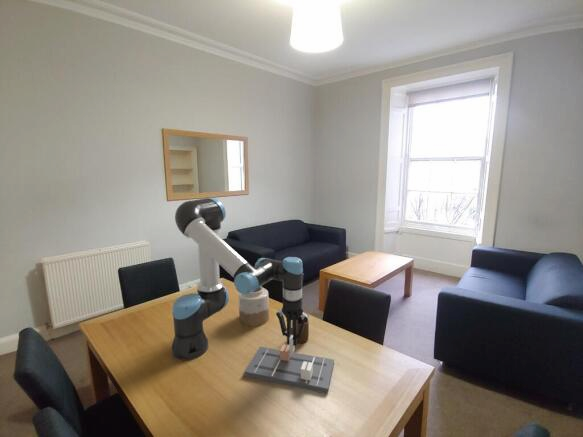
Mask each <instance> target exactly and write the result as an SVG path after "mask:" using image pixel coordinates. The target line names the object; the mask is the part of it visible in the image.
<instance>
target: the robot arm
mask: <svg viewBox="0 0 583 437" xmlns="http://www.w3.org/2000/svg"><path fill="white" fill-rule="evenodd" d="M174 214H175V215H174V221H175V224H176V225H175V226H177V229H178V230H179V231H180V233H181V234H182V235H183V236H184V237H185V238H188V239H192V240H193V241H194V242H195V243H196V244H197V245H198V246H197V247H198V260H199V261H198V264H199V265H198V266H199V280H200V283H199V284H198V285H197V287H196V288H197V293H193V292H191V293H188V294H184V295H181V296H179V297H178V298H176V299H175V301H174V302H173V304H172V317H173V330H174V338H173V341H172V344H171V354H172V357H173V358H174V359H176V360H181V361H182V360H183V361H187V360H193V359H195V358H197V357H198V358H199V357H200V356H202V355H203V354H205V353H206V351H207V350H208V348H209V339H208V338H207V336H206V333H205V331H204V324H203V322H204V321H205V320H207V319H208V318H210V317H212V316H213V315H215V314H217V313H219V312H220V311H222V310H223V309H224V308H226V306H227V305H228V303H229V297H230V295H229V292H228V290H227V287H226V286H224V283H222V281H220V278H221V277H220V267H222V268H223V269H224V270H225V271H226V272H227V273H228V274H230V276H231V277H232V278H233V279H234V281H233V283H234V287H235V289H236V291H237V292H238V294H239V293H241V294H248V293H251V292H253V291H255V290H256V289H257V288H259V287H260V286H261V287H263V286H264V285H265V284H267V283H269V282H270V281H272V280H273V281H277V282H278V281H279V282H282V308H281V309H278V311H276V314H275V315H276V317H277V318H278V322H279V325H280V330H281V334H282V336H284V337H286V345H287V344H288V345H289V353H290V354H293V353H295V348H296V346H297V344H298V343H297V338H300V337H301V335H302V332H303V329H304V325H305V322H306V320H307V319H308V320H309V314H306V313H305V312H304V310H303V298H302V297H303V272H304V268H303V260H302V259H301V258H300V257H296V256H287V257H285V258H284V259H283V260H282V261H281V260H276V259H271V258H270V257H269V258H268V257H261V258H258V259H257V261H256V262H255V264H254V266H253V265H252V264H250V263H249V262H248V261H247V260H246V259H245V258H244V257H242V256H241V255H240V254H239V253H238V252H237V251H236V250H235V248H232V247H231V246H230V245H229V244H228V243H227V242H226V241H225V240H224V239H223V238H221V237H220V235H218V232H219V231H220V230H222V229H221V227H222V224H221V223H222V222H223V221H224V220H225V219H226V208H225V206H224V204H223V203H222V202H221V201H220V200H219V199H217V198H214V197H205V198H200V199H194V200H193V199H192V200H186V201H183V203H181V204H180V205H179V206H178V207H177V209H176V210H175V213H174ZM300 316H302V322H301V326H300V329H299V333H298V319H299V318H300ZM285 318H286V320H285ZM292 320H293V335H291V328H292Z"/></svg>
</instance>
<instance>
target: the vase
mask: <svg viewBox="0 0 583 437" xmlns="http://www.w3.org/2000/svg"><path fill="white" fill-rule="evenodd" d="M269 300H270V299H269V291H268V290H267V289H266V288H264V287H263V286H260V287H259V288H257V289H256V290H255V291H253V292H251V293H248V294H241V293H239V292H238V313H239V317H238V318H239V322H240V323H241V324H242V325H244V326H247V327H258V326H261V325H264V324H265V323H267V322H268V321H269V320H270V318H269V317H270V308H269V306H270V304H269V303H270V301H269Z"/></svg>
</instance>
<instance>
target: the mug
mask: <svg viewBox="0 0 583 437" xmlns="http://www.w3.org/2000/svg"><path fill="white" fill-rule="evenodd" d="M301 322H302V316H300V318H299V319H298V333H299V329H300V326H301ZM309 327H310V326H309V318H308V319H307V320H306V322H305V325H304V329H303V332H302V335H301V337H300V338H297V344H304V343H307V341H308V340H309V335H310V334H309V333H310V332H309V331H310V329H309ZM291 335H293V320H291Z"/></svg>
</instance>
